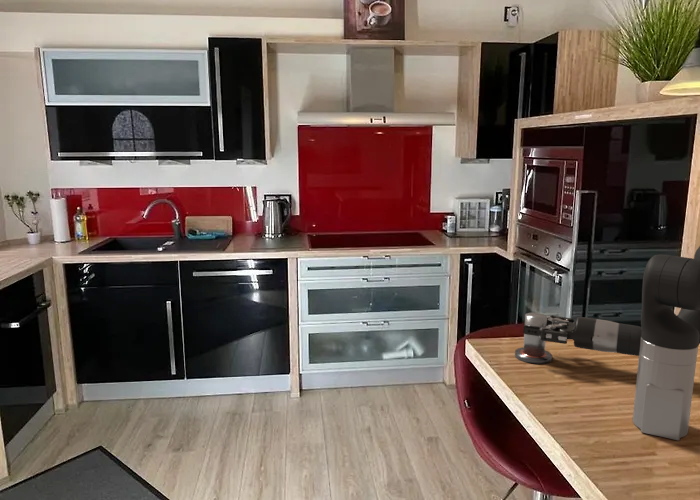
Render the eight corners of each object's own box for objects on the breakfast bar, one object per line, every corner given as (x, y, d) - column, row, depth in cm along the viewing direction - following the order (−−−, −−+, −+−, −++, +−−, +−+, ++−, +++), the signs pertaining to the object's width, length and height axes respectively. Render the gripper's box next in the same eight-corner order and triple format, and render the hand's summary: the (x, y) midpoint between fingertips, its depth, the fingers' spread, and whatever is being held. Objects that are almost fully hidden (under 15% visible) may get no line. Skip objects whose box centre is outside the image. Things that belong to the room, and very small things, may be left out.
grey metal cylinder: (542, 358, 132) (545, 319, 130) (521, 354, 134) (523, 316, 133) (546, 351, 136) (548, 314, 134) (525, 348, 139) (527, 311, 137)
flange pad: (548, 366, 129) (548, 362, 129) (511, 359, 134) (511, 355, 134) (554, 354, 137) (554, 350, 137) (518, 348, 141) (519, 344, 141)
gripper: (600, 312, 132) (533, 303, 140) (595, 328, 120) (522, 317, 128) (598, 340, 134) (531, 330, 142) (592, 359, 122) (520, 347, 129)
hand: (527, 324), depth 135 cm, fingers open, 8 cm apart
